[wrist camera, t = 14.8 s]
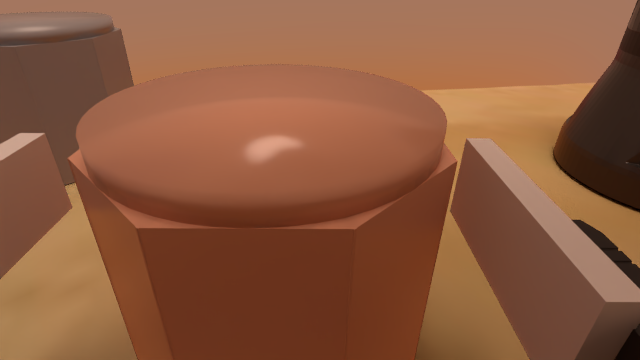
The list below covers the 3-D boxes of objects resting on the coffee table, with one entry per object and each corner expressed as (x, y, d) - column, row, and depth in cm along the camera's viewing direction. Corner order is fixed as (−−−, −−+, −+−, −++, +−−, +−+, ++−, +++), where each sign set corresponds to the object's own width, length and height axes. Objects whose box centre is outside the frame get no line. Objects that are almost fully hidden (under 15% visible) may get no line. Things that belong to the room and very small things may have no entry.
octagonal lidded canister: (381, 253, 21) (405, 65, 16) (431, 466, 12) (519, 195, 7) (195, 252, 20) (159, 62, 15) (107, 468, 12) (-43, 191, 7)
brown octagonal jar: (159, 130, 35) (134, 12, 30) (108, 185, 26) (61, 32, 21) (49, 129, 35) (6, 10, 30) (-39, 184, 26) (-121, 30, 21)
